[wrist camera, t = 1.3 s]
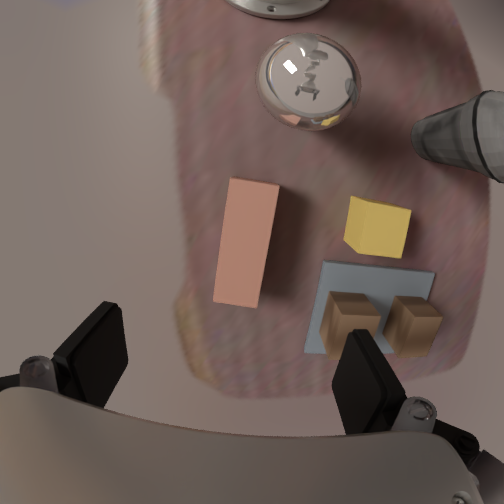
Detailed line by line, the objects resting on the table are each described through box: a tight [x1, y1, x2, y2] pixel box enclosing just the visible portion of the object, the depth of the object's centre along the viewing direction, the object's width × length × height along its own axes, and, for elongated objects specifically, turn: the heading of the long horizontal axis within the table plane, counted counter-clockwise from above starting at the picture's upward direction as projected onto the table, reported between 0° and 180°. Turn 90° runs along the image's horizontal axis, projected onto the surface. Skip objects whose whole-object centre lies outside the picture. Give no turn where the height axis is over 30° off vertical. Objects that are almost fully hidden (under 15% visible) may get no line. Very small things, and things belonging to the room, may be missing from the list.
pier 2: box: [382, 295, 443, 358], centre depth 27 cm, size 5×4×5 cm
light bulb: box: [255, 33, 362, 131], centre depth 18 cm, size 7×7×12 cm
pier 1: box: [319, 291, 381, 360], centre depth 27 cm, size 5×4×5 cm
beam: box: [213, 177, 279, 308], centre depth 26 cm, size 11×4×4 cm, turn 171°
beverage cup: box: [411, 90, 504, 183], centre depth 14 cm, size 7×7×20 cm
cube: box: [344, 196, 411, 258], centre depth 25 cm, size 4×4×4 cm
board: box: [304, 260, 435, 354], centre depth 29 cm, size 11×14×1 cm
